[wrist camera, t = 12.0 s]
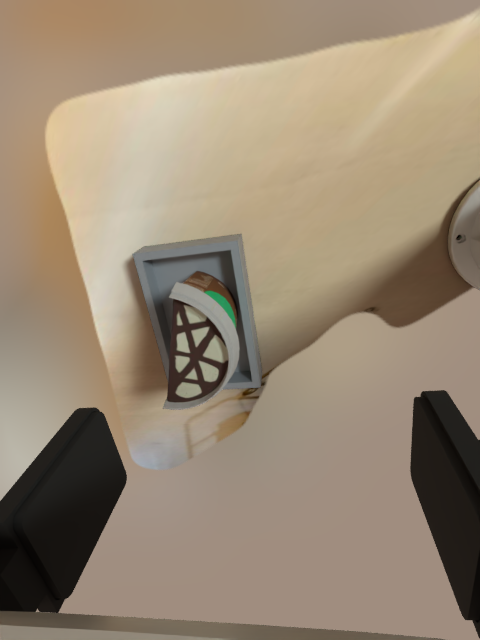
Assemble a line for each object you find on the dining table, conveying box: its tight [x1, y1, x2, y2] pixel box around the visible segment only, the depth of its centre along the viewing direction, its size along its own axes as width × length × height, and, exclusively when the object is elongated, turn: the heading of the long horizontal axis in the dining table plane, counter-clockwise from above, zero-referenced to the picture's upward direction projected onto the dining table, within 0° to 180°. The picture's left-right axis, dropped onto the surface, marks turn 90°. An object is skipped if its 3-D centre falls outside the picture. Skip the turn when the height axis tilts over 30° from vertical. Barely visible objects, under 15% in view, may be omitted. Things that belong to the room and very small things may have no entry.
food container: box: [163, 271, 240, 410], centre depth 35 cm, size 12×6×10 cm, turn 172°
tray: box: [133, 234, 262, 389], centre depth 40 cm, size 11×17×3 cm, turn 9°
